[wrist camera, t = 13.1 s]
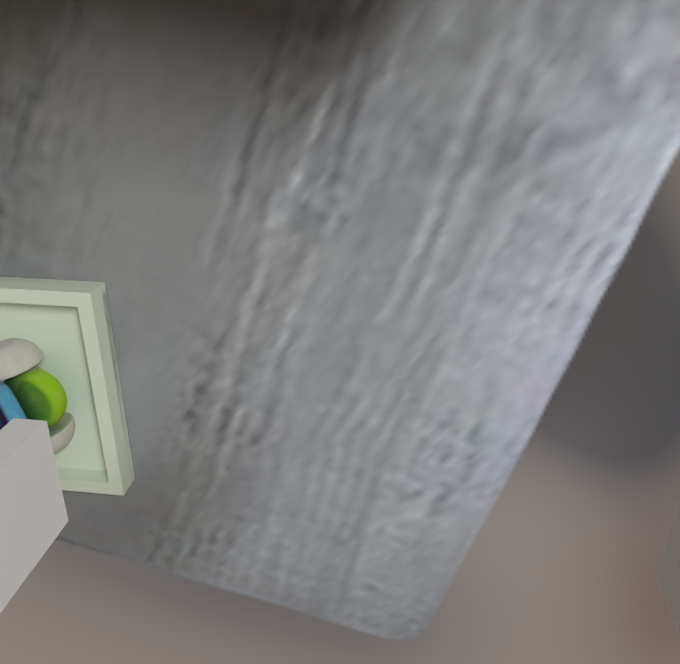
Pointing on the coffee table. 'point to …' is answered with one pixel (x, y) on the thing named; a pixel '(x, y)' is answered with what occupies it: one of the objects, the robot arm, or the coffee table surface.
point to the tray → (76, 374)
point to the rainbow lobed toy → (32, 392)
